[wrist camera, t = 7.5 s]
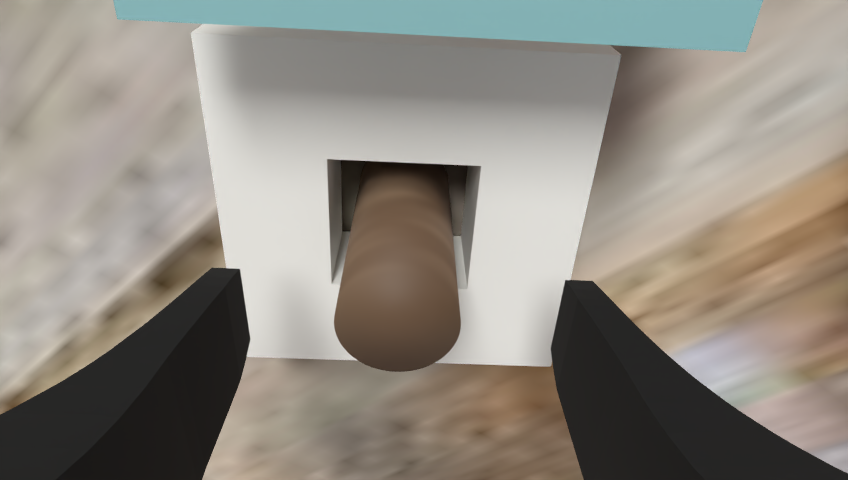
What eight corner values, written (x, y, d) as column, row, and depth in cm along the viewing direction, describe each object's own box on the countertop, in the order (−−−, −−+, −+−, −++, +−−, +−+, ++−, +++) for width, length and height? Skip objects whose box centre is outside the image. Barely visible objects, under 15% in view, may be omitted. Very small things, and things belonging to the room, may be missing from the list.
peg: (460, 157, 19) (479, 293, 13) (431, 229, 20) (436, 382, 14) (374, 131, 18) (352, 259, 12) (351, 207, 19) (321, 355, 14)
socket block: (590, 26, 16) (621, 55, 14) (535, 308, 22) (550, 366, 19) (226, 6, 16) (190, 33, 14) (260, 298, 21) (240, 356, 19)
